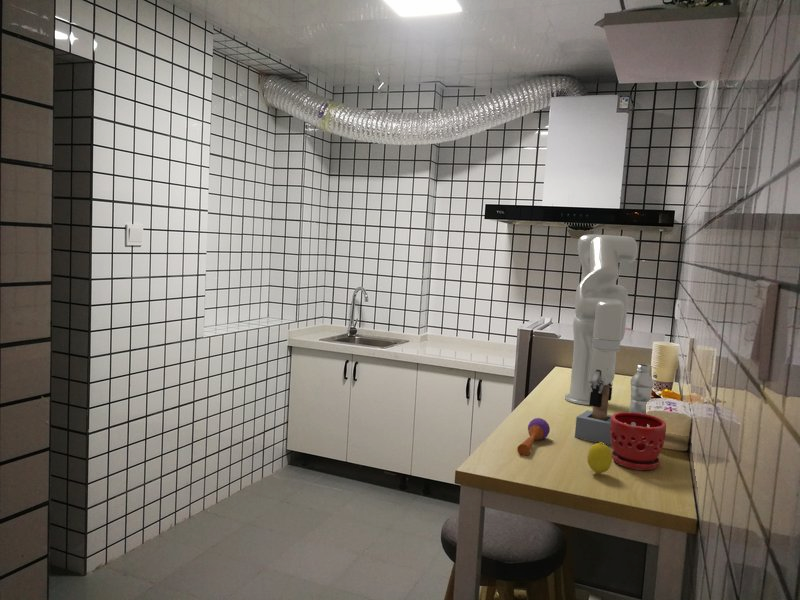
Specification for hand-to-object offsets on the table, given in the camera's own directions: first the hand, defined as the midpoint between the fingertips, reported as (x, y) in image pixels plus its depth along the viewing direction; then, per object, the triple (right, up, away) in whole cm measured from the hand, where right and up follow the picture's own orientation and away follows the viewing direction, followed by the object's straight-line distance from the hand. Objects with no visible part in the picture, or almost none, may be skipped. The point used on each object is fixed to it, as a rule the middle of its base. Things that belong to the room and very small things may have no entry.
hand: (600, 402), depth 176 cm
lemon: (-10, -12, -29) cm, 33 cm away
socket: (-1, -10, +1) cm, 10 cm away
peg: (-1, -9, +1) cm, 9 cm away
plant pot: (+2, -12, -20) cm, 24 cm away
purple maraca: (-22, -10, -10) cm, 26 cm away
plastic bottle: (+15, -10, +11) cm, 22 cm away
